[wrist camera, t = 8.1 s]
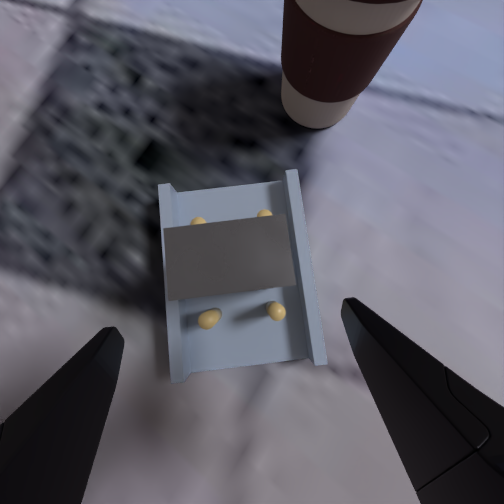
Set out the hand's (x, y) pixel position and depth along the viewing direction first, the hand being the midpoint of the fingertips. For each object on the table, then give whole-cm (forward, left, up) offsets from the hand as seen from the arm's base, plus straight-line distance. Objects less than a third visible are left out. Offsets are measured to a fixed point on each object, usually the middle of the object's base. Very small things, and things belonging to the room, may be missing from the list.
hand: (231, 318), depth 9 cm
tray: (+1, -2, -13) cm, 13 cm away
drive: (+1, -2, -12) cm, 12 cm away
